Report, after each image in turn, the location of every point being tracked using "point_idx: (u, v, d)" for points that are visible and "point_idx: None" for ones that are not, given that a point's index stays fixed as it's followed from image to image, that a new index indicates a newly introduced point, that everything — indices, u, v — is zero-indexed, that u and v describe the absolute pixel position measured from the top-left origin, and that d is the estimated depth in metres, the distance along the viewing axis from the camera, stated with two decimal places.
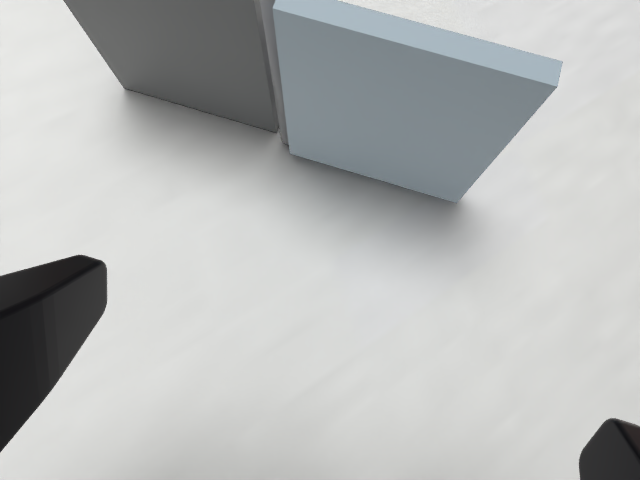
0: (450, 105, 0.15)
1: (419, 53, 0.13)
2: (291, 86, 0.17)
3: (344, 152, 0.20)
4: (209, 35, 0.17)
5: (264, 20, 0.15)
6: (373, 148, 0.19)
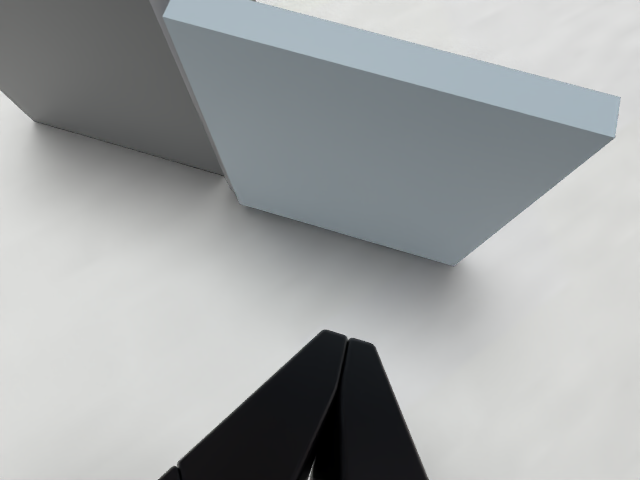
0: (444, 157, 0.10)
1: (394, 85, 0.08)
2: (220, 127, 0.12)
3: (305, 206, 0.16)
4: (109, 56, 0.13)
5: (165, 35, 0.10)
6: (341, 203, 0.14)
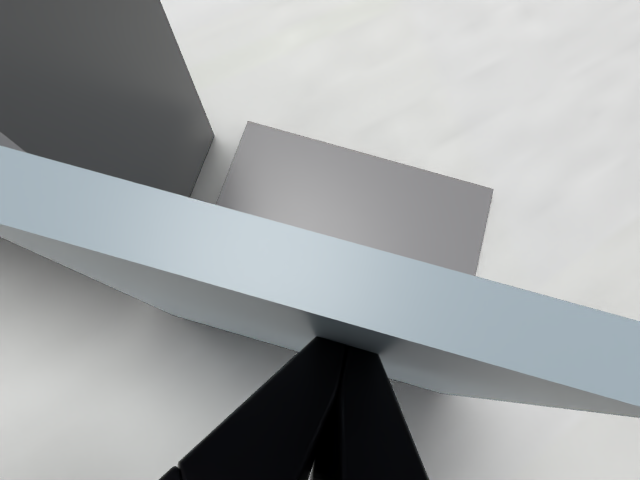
0: (417, 363, 0.07)
1: (319, 316, 0.05)
2: (103, 280, 0.08)
3: (249, 334, 0.12)
4: None
5: None
6: (291, 344, 0.11)
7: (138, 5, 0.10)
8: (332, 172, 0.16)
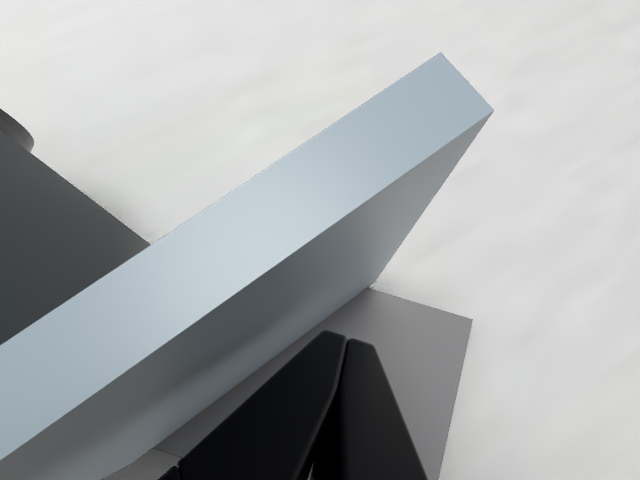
0: (305, 287, 0.06)
1: (167, 346, 0.04)
2: None
3: (199, 406, 0.11)
4: None
5: None
6: (232, 376, 0.10)
7: (20, 195, 0.08)
8: None
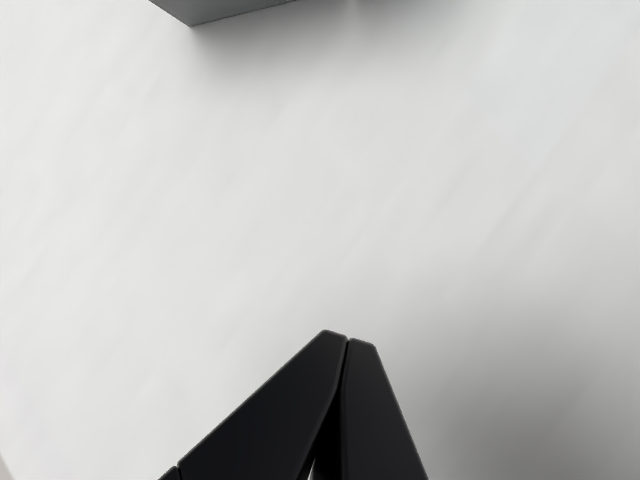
0: None
1: None
2: None
3: None
4: None
5: None
6: None
7: None
8: None
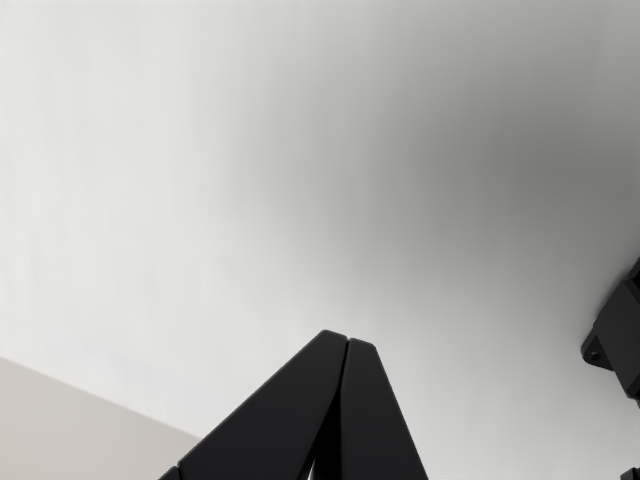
0: None
1: None
2: None
3: None
4: None
5: None
6: None
7: None
8: None
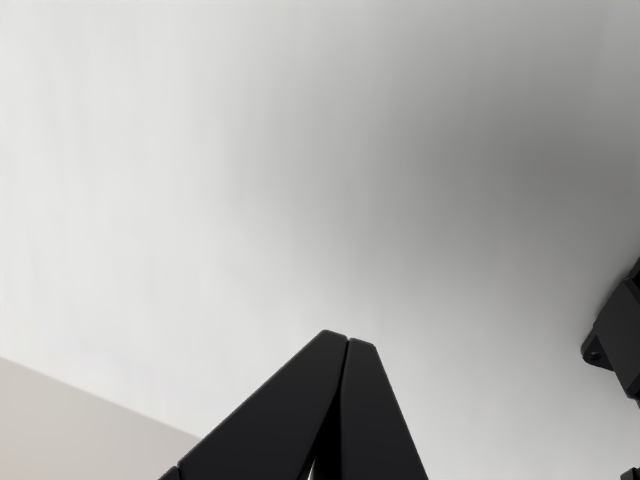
0: None
1: None
2: None
3: None
4: None
5: None
6: None
7: None
8: None
